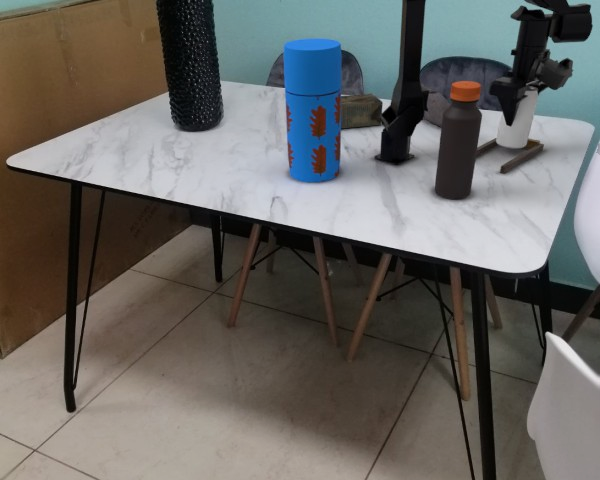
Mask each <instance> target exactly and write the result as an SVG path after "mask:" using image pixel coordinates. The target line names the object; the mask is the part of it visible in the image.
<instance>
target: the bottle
mask: <svg viewBox="0 0 600 480" xmlns="http://www.w3.org/2000/svg"><path fill="white" fill-rule="evenodd" d="M481 90H482V84H481V83H479V82H478V81H477V82H476V81H472V80H461V81H455V82H453V83H452V84H451V87H450V101H451V104H450V107H448V108H447V109H446V110H445V111H444V113H443V118H442V127H440V136H439V146H438V155H437V164H436V174H435V180H434V181H435V182H434V192H435V194H436V195H437V196H439V197H441V198H443V199H448V200H460V199H465V198H467V197H468V196H470V195H471V192H472V185H473V179H474V173H475V166H476V161H477V160H476V159H477V157H476V153H477V147H479V140H480V132H481V127H482V119H483V113H482V112H481V110H480V109H479V108H478V107H477V104H478V103H479V100H480V96H481Z"/></svg>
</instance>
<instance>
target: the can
mask: <svg viewBox="0 0 600 480" xmlns="http://www.w3.org/2000/svg"><path fill="white" fill-rule="evenodd" d="M537 90H538V88H536V87H533V86H528V85H527V87H526V92H525V94H524V95H528V97H526V98H525V99H524V100H522V101H521V102H520V104H519V107H518V110H517V113H516V116H515V119H514V122H513V124H512V126H511V127H510V126H507V125H506V122H505V118H504V115H503V112H502V111H501V115H500V119H499V125H498V128H497V133H496V137H495V138H496V142H497V144H498V146H500V147H502V148H506V149H513V150H520V149H525V148H524V147H525V146H526V144H527V140H528V138H529V136H530V133H531V129H532V124H533V121H534V116H535V113H536V109H537V104H538V101H539V95H538V93H537Z"/></svg>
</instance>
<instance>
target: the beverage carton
mask: <svg viewBox="0 0 600 480" xmlns="http://www.w3.org/2000/svg"><path fill="white" fill-rule="evenodd" d="M383 104H384V103H383V101H382V100H381V99H380V98H379V97H378V96H377V95H375V93H371V92H369V93H366V94H365V93H363V94H352V95H351V94H350V95H341V129H350V128H361V127H372V126H382V124H381V120H380V117H379V116H380V115H381V114H382V113H383V106H384V105H383Z"/></svg>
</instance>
